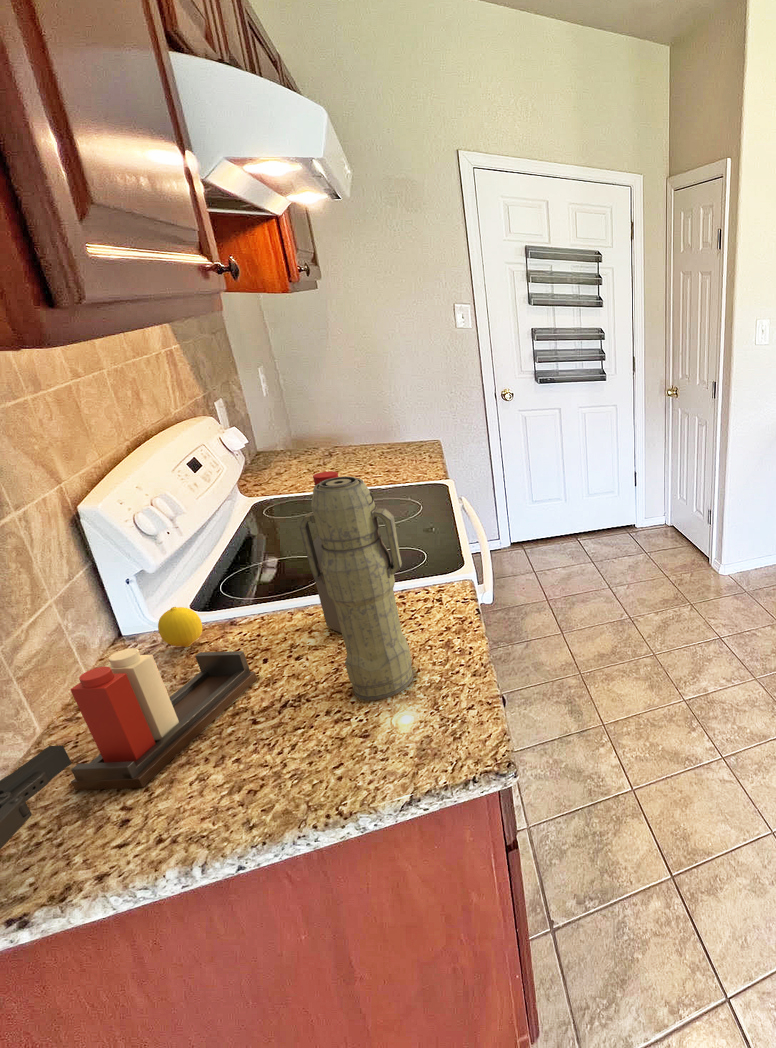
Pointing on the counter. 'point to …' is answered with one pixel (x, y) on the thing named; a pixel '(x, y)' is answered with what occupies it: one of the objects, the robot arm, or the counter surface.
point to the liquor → (325, 600)
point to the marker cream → (146, 689)
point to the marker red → (113, 715)
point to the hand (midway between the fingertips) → (60, 754)
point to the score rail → (194, 710)
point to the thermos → (360, 584)
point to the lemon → (180, 626)
